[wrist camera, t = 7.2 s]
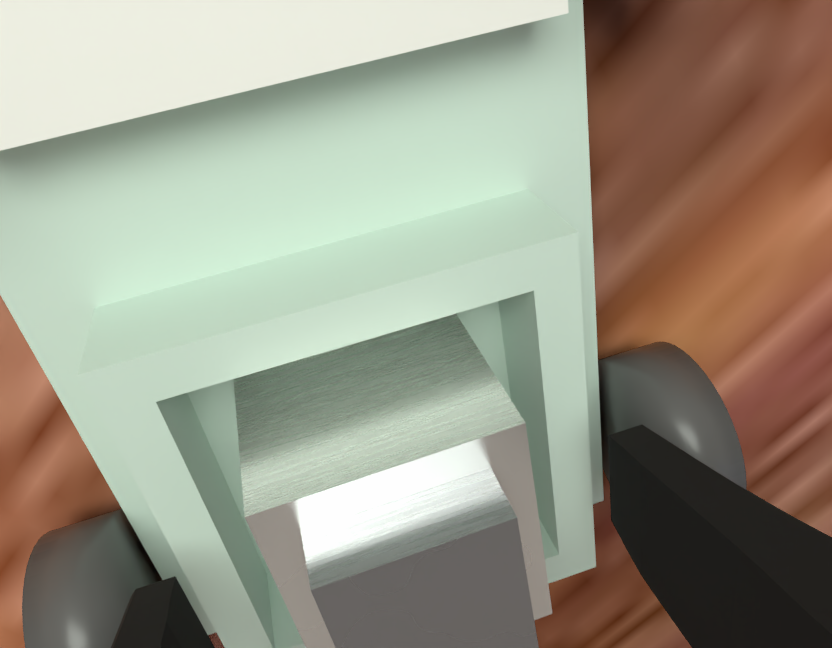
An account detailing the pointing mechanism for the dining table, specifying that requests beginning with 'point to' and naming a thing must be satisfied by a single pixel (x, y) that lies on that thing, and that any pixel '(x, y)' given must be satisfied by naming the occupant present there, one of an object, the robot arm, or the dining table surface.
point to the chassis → (299, 261)
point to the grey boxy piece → (395, 494)
